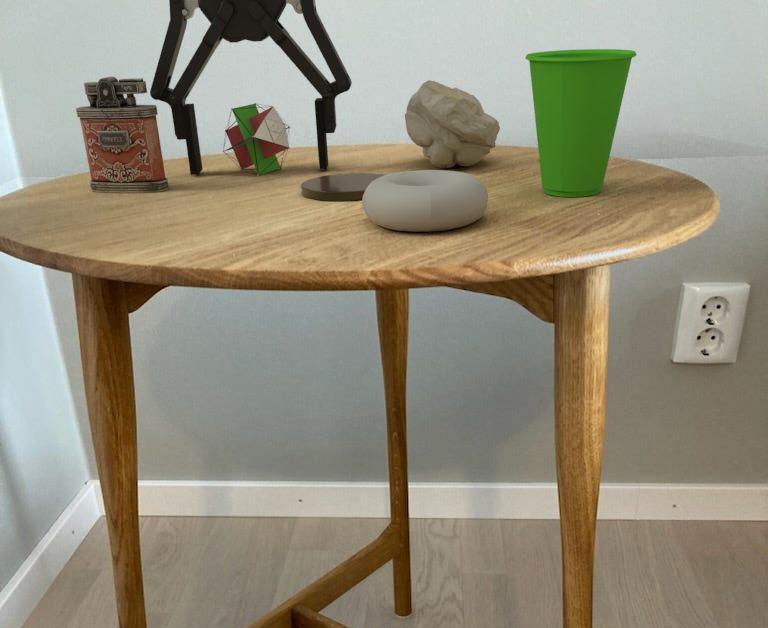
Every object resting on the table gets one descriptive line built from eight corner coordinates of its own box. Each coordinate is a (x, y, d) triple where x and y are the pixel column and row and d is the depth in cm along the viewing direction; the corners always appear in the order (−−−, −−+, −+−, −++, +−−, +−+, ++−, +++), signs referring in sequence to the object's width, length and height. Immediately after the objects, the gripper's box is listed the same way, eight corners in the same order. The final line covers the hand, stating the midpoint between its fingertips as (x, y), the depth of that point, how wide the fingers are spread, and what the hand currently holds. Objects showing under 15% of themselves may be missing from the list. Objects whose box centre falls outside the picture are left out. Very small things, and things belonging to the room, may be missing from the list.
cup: (637, 184, 82) (650, 48, 77) (604, 205, 76) (615, 57, 70) (543, 179, 86) (549, 49, 81) (504, 197, 80) (508, 57, 74)
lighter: (84, 192, 90) (62, 80, 85) (101, 185, 93) (81, 76, 88) (159, 192, 88) (142, 78, 83) (174, 185, 91) (158, 74, 86)
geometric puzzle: (196, 153, 94) (226, 85, 89) (235, 142, 100) (266, 78, 94) (247, 199, 94) (280, 135, 89) (283, 186, 99) (316, 124, 94)
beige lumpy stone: (468, 153, 102) (387, 171, 99) (459, 72, 98) (375, 88, 95) (526, 159, 92) (439, 179, 89) (520, 68, 88) (428, 86, 85)
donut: (455, 205, 79) (346, 215, 76) (456, 162, 77) (344, 172, 74) (509, 228, 71) (389, 242, 68) (512, 182, 69) (388, 193, 66)
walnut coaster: (297, 202, 81) (296, 193, 81) (306, 183, 89) (305, 174, 89) (397, 198, 81) (397, 189, 81) (397, 180, 89) (397, 171, 89)
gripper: (92, -66, 82) (134, 181, 93) (366, -80, 82) (377, 171, 92) (114, -63, 89) (151, 168, 99) (369, -75, 88) (378, 158, 99)
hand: (260, 170), depth 96 cm, fingers open, 13 cm apart
